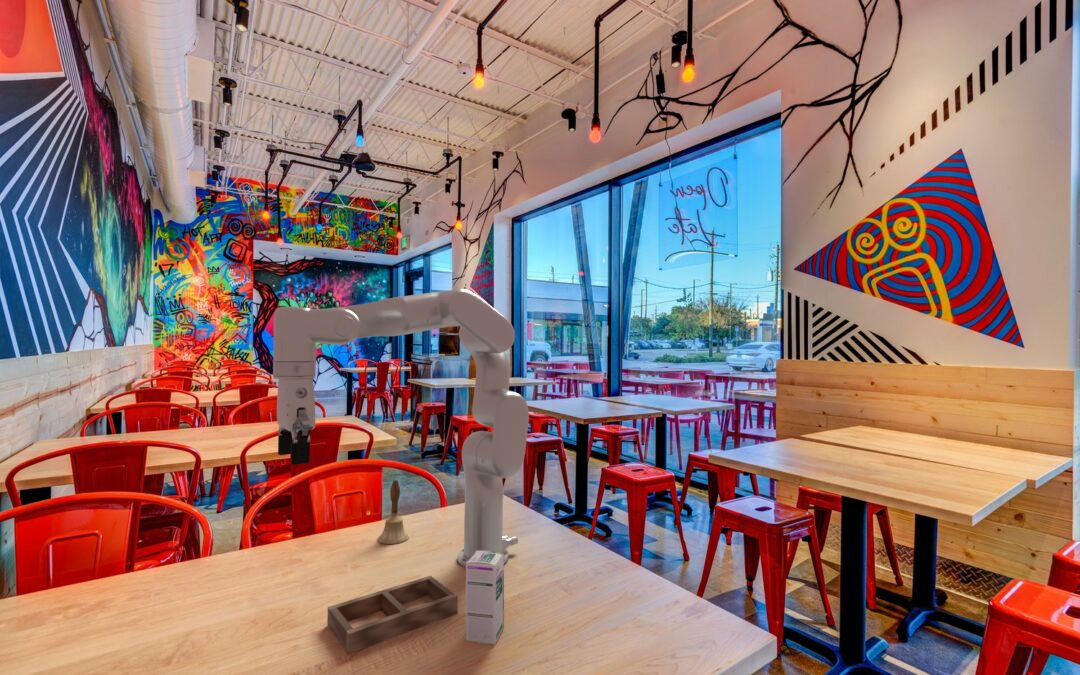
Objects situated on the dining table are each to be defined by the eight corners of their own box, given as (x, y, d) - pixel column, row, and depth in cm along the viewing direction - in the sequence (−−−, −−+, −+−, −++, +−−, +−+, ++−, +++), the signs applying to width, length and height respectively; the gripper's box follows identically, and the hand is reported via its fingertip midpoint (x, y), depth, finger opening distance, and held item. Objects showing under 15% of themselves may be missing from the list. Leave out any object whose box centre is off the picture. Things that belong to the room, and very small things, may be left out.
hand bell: (410, 532, 146) (411, 475, 146) (408, 543, 138) (409, 483, 138) (379, 533, 145) (380, 476, 145) (375, 545, 137) (376, 484, 137)
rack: (430, 591, 112) (430, 575, 112) (457, 613, 103) (457, 596, 103) (327, 625, 98) (327, 607, 98) (348, 654, 90) (348, 633, 90)
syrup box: (495, 645, 93) (496, 564, 93) (464, 641, 94) (465, 561, 94) (504, 628, 98) (505, 551, 98) (474, 624, 100) (475, 548, 100)
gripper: (328, 372, 96) (327, 464, 96) (302, 367, 110) (301, 448, 110) (285, 373, 92) (283, 470, 92) (263, 368, 105) (262, 453, 105)
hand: (293, 458), depth 101 cm, fingers open, 9 cm apart
